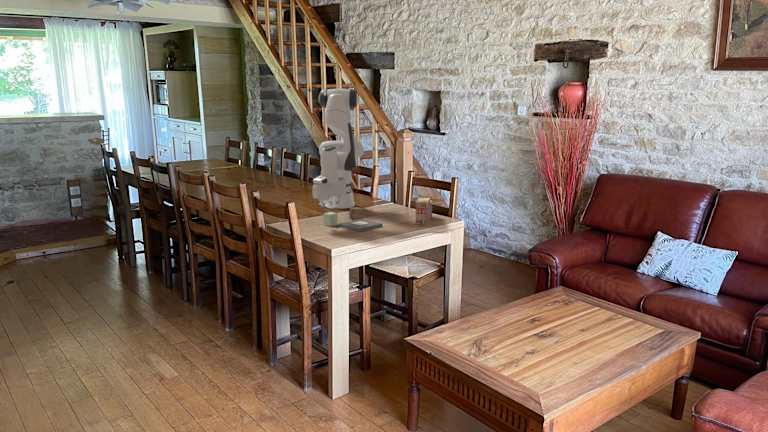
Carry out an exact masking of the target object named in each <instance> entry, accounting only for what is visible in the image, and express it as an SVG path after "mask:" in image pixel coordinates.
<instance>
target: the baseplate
mask: <svg viewBox="0 0 768 432" xmlns="http://www.w3.org/2000/svg"><path fill="white" fill-rule="evenodd" d="M337 223H338V225H337V226H338V227H339V228H343V229H346V230H350V231H351V230H352V231H355V232H364V231H367V230H373V229H376V228H381V227H383V223H382V222H378V221H374V220H369V219H365V218H363V219H357V220H348V221H344V222H340V223H339V222H337Z"/></svg>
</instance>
